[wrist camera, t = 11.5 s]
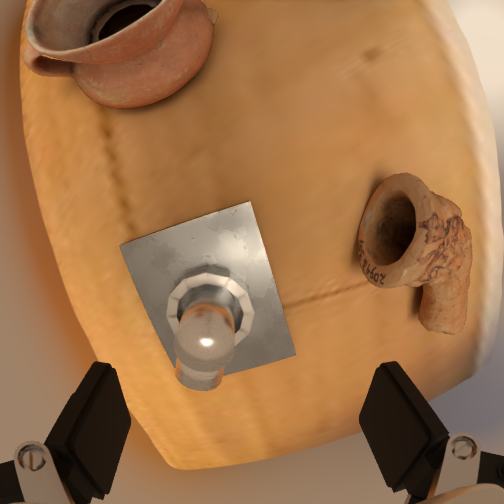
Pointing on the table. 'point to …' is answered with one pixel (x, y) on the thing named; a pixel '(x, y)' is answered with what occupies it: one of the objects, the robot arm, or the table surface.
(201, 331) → the grey rounded piece
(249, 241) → the flange
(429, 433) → the robot arm
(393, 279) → the clay pipe
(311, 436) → the table surface
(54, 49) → the ceramic jug
